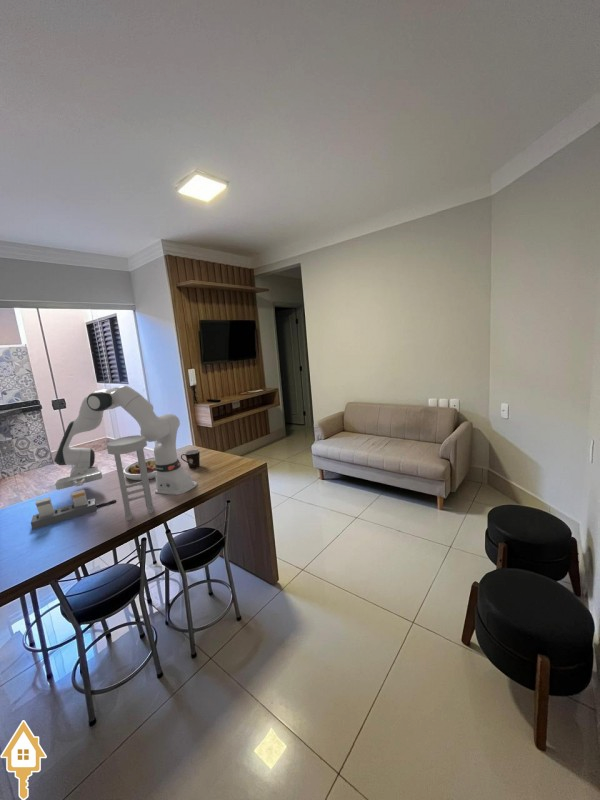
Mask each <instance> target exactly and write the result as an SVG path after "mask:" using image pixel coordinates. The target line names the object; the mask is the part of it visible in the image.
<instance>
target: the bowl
mask: <svg viewBox="0 0 600 800" xmlns="http://www.w3.org/2000/svg"><path fill="white" fill-rule="evenodd" d="M145 462H146V468H147V474H148V480H152V479H156V474H157V471H156V468H155V463H156V462H155V456H153V457H147V458H145ZM123 473H124V477H126V478H127V479H129V480H131V481H142V480H141V474H140V469H139V463H138V460H137V461H134V462H133V463H130V464H129V465H127V466H125V468H123Z"/></svg>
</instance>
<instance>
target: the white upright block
mask: <svg viewBox="0 0 600 800" xmlns="http://www.w3.org/2000/svg"><path fill="white" fill-rule="evenodd" d="M71 497H72V501H73V504H74V505H75V507H76V506H80V505H83V504H87V500H88V497H87V494H86V490H85V489H79V490H77V491H73V492H71Z"/></svg>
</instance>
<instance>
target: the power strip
mask: <svg viewBox="0 0 600 800" xmlns="http://www.w3.org/2000/svg"><path fill="white" fill-rule="evenodd" d="M113 503H117V500H116V499H113V500H110V501H109V500H108V501H106V502H103V503H98V504H97V502H96V498H95V497H93V498H89V499H87V504H83V505H80V506H76V507H75V505H74V503H72V504H70V505H65V506H62V507H58V508H55V509H54V508H53V509H54V513H51V514H47V515H44V516H40V515H39V513H37V514H33V516H32V519H31V521H30V525H31V530H32V531H34V530H38V529H41V528H44V527H47V526H51V525H55V524H57V523H61V522H63V521H66V520H67V521H68V520H71V519H74V518H77V517H80V516H85V515H87V514H90V513H94V512H97V508H100V507H103V506H107V505H110V504H113Z"/></svg>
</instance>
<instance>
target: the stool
mask: <svg viewBox="0 0 600 800" xmlns="http://www.w3.org/2000/svg"><path fill="white" fill-rule="evenodd" d="M147 442H148V441H146V438H145V436H141V434H139V435H138V434H135V435H128V436H123V437H118V438H115V439H112V440H110V441H108V442H107V443H106V449H107V454H109V455H113V456H114V461H115V467H116V472H117V477H118V482H119V486H120V487H119V488H120V492H121V497H122V498H121V500H122V503H123V508H124V514H125V518H126V521H131V520H132V519H133V517H132V511H131V510H132V509H131V506H130V502H133V501H136V500H139V499H143V498H144V502H145V506H146V507H147V512H148V514H152V513H154V512H155V509H154V505H153V498H152V492H151V488H150V487H151V486H150V479H148V474H147V468H146V462H145V459H146V458H145V457H146V456H145V452H144V448H147V446H148V443H147ZM135 452H136V456H137V461H138V463H139V469H140V474H141V480H140V481H138V482H137V481H136V482H134V483H130V484H126V479H125V475H124V468H123V463H122V458H121V455H125V454H129V453H135ZM140 485H142V487H138V488H134V487H137V486H140ZM132 487H133V488H134V489H131V490H128V489H129V488H132ZM140 492H143V493H142V494H139V495H136V496H132V497H129V496H131V495H134V494H138V493H140Z"/></svg>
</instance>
